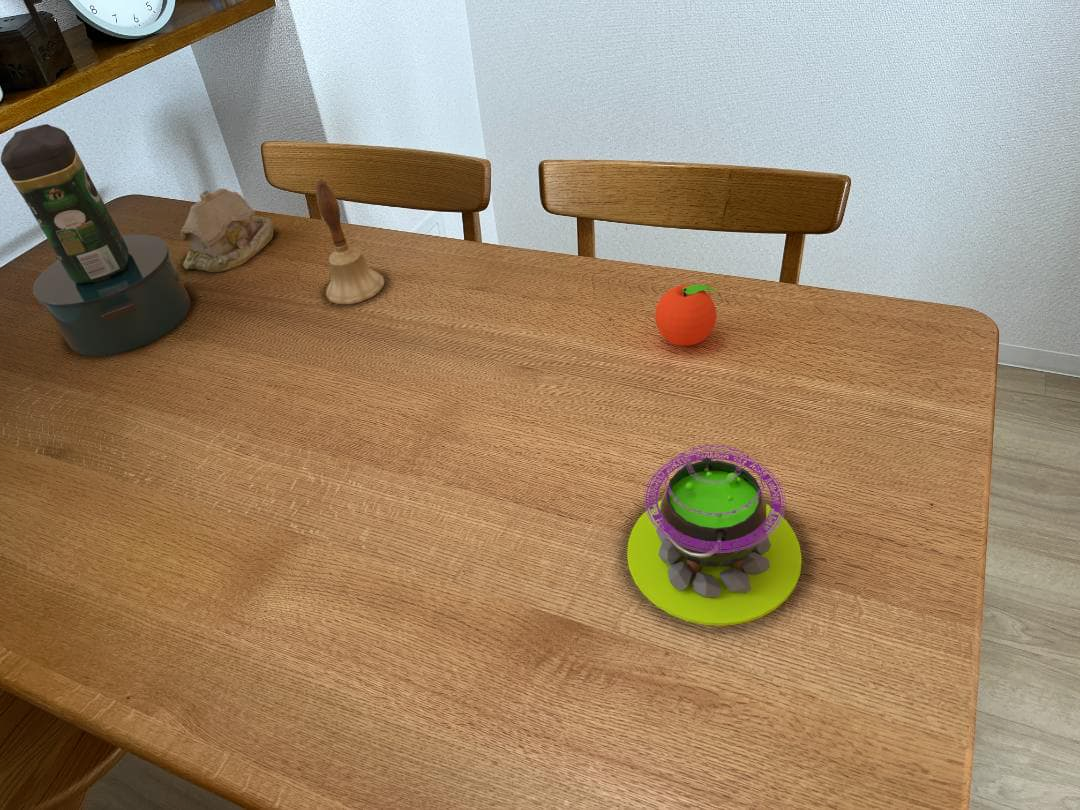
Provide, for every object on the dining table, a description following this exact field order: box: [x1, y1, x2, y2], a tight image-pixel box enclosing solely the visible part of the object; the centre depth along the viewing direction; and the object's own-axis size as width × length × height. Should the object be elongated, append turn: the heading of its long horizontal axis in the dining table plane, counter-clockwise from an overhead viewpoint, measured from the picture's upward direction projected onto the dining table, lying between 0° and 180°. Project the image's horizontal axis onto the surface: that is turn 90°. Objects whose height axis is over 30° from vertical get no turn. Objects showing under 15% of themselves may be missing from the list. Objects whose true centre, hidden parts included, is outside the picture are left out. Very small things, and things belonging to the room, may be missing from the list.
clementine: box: [654, 284, 722, 347], centre depth 92 cm, size 8×7×7 cm
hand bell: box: [315, 179, 385, 305], centre depth 108 cm, size 8×8×16 cm
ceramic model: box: [180, 188, 274, 273], centre depth 124 cm, size 14×11×10 cm
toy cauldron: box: [626, 444, 803, 627], centre depth 67 cm, size 15×15×11 cm
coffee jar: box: [0, 123, 129, 283], centre depth 103 cm, size 10×8×19 cm
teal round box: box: [32, 234, 191, 357], centre depth 112 cm, size 18×21×9 cm
